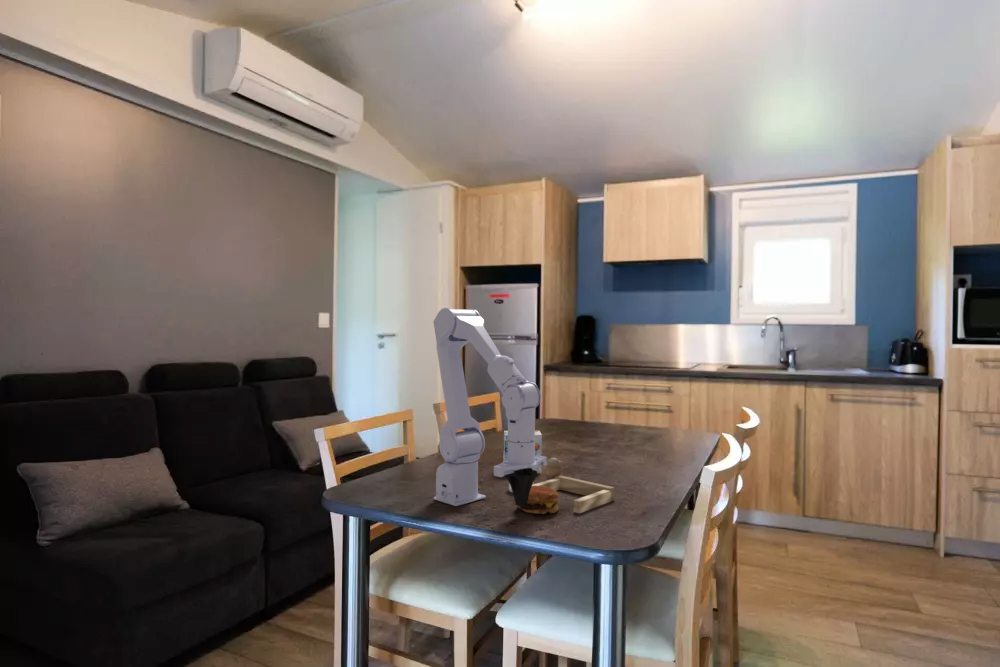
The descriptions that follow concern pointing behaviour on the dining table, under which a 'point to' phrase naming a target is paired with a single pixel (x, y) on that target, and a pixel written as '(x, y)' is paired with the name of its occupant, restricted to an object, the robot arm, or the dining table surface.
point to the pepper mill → (553, 468)
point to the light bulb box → (537, 447)
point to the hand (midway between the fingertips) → (521, 505)
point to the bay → (582, 492)
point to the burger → (541, 500)
